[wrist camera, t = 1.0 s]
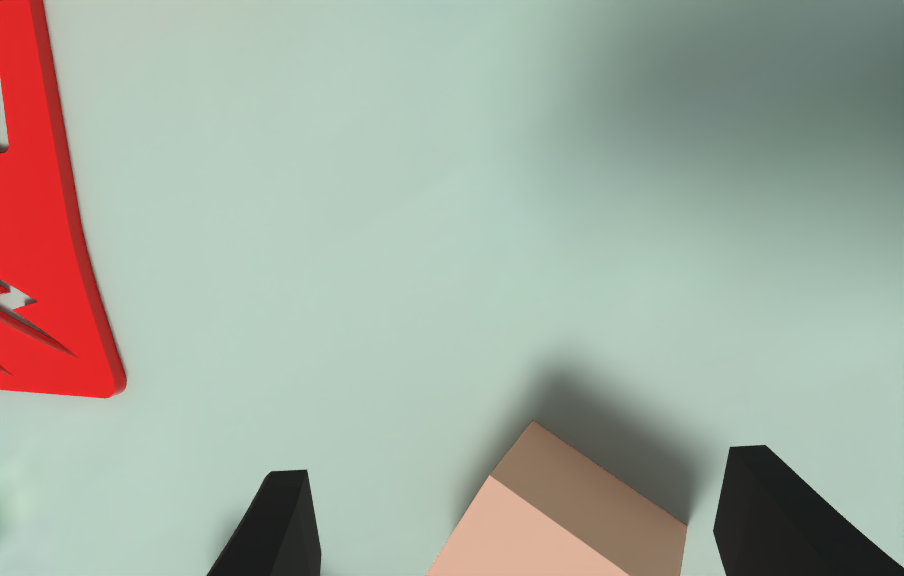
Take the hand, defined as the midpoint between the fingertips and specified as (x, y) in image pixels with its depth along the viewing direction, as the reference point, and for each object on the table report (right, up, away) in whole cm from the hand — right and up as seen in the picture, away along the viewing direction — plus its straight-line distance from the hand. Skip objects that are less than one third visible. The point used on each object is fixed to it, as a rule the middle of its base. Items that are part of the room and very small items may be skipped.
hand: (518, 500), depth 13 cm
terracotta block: (+3, -5, +14) cm, 15 cm away
